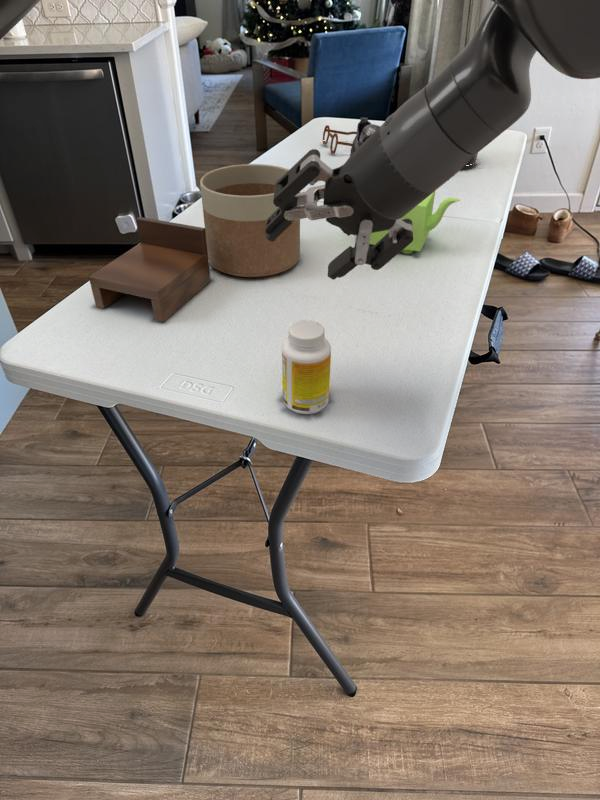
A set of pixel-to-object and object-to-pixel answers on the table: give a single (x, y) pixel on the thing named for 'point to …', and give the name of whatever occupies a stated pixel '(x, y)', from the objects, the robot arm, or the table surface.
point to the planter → (246, 221)
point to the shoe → (363, 133)
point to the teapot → (419, 222)
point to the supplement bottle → (306, 367)
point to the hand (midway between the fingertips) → (300, 254)
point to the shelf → (157, 268)
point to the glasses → (336, 138)
